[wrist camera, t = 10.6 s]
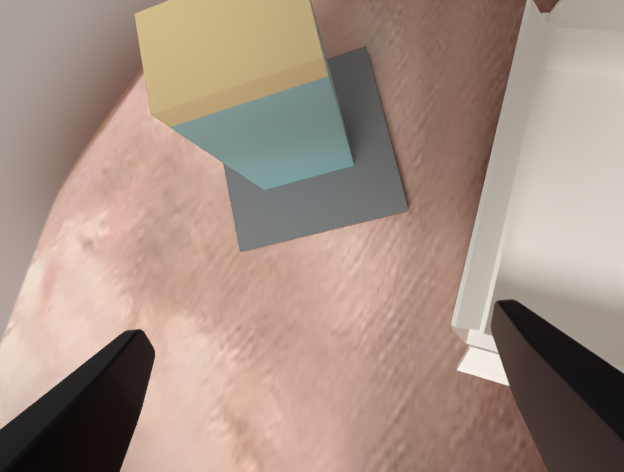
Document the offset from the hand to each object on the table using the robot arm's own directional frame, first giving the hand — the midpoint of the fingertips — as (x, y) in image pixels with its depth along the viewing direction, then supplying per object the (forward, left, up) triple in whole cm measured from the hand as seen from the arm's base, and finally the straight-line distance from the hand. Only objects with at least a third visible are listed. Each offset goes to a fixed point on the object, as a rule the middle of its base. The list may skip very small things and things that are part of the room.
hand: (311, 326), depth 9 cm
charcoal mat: (+4, +8, -11) cm, 14 cm away
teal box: (+4, +8, -11) cm, 14 cm away
